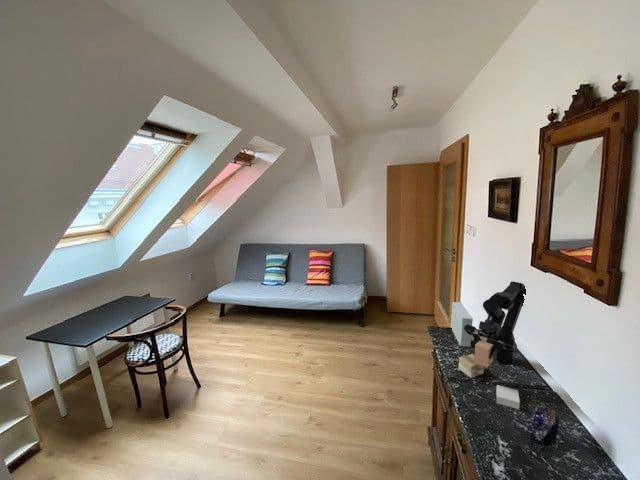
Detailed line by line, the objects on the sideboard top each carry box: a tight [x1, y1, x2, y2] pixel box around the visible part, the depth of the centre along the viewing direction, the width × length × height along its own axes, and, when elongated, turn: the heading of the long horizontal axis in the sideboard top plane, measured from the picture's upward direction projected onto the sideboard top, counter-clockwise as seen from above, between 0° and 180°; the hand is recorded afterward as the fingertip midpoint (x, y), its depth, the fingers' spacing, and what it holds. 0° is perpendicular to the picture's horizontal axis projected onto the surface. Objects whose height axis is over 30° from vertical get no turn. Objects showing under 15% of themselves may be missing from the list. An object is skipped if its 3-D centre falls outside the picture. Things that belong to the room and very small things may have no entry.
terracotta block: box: [474, 340, 494, 368], centre depth 115 cm, size 5×5×8 cm
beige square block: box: [458, 353, 485, 372], centre depth 125 cm, size 7×7×3 cm
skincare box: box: [450, 301, 473, 348], centre depth 153 cm, size 21×5×16 cm, turn 168°
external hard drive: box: [471, 329, 489, 343], centre depth 152 cm, size 2×8×12 cm
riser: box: [495, 384, 521, 410], centre depth 108 cm, size 7×7×3 cm
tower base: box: [458, 362, 485, 378], centre depth 126 cm, size 7×7×3 cm
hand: (482, 355), depth 114 cm, fingers closed on terracotta block, 5 cm apart
